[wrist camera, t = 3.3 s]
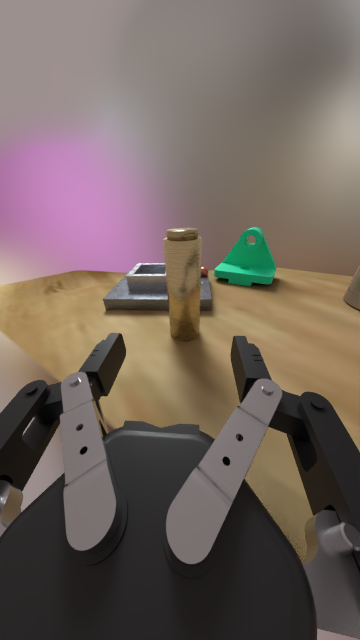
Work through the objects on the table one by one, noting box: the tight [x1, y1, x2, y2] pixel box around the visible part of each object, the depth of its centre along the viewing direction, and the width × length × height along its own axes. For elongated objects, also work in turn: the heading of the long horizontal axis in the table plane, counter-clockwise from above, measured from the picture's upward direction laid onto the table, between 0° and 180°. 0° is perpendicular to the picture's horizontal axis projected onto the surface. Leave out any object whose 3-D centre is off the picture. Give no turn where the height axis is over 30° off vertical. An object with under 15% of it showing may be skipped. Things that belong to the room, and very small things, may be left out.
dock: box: [103, 263, 212, 310], centre depth 35 cm, size 18×14×4 cm
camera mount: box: [214, 227, 276, 286], centre depth 39 cm, size 12×8×10 cm, turn 61°
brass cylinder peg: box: [163, 228, 202, 341], centre depth 22 cm, size 4×4×13 cm
